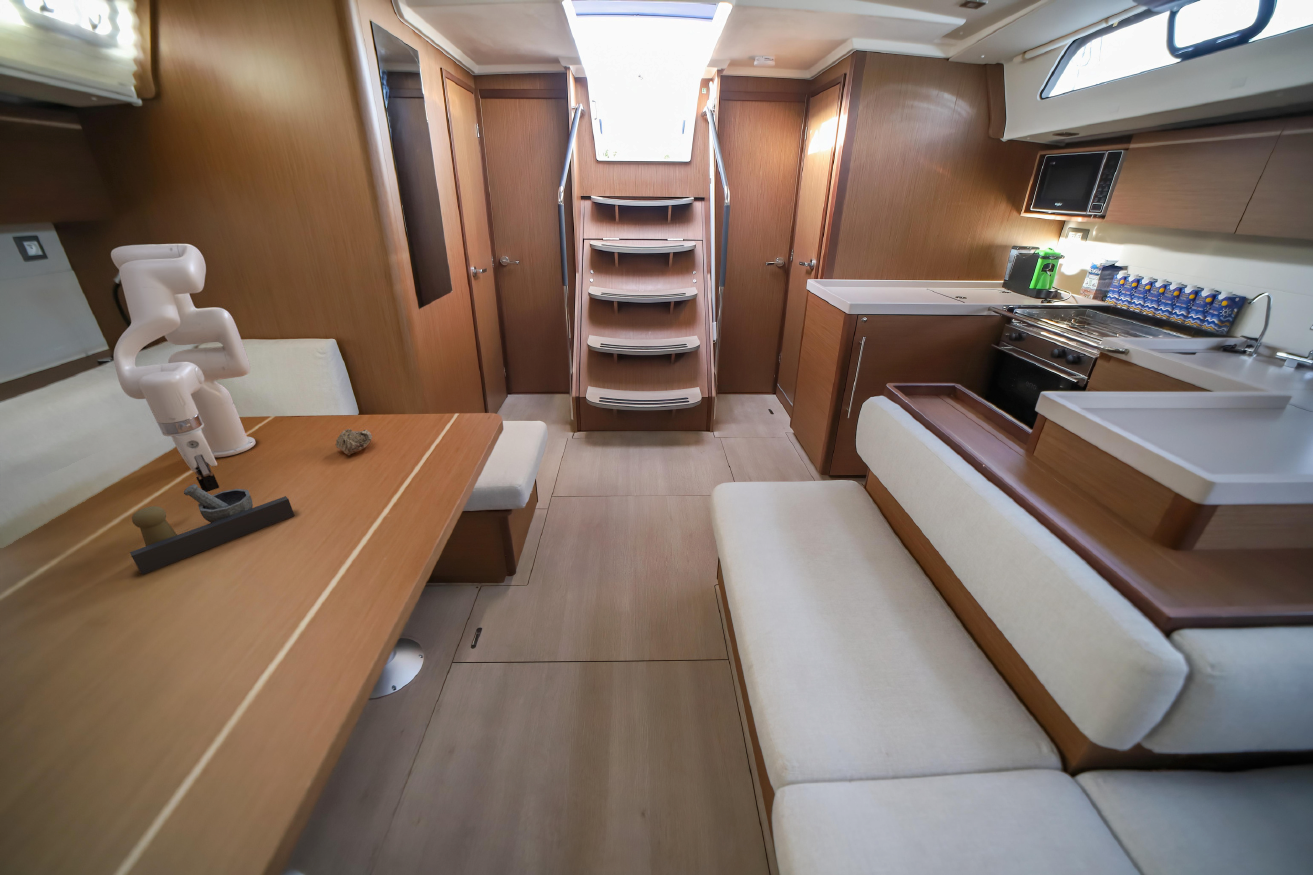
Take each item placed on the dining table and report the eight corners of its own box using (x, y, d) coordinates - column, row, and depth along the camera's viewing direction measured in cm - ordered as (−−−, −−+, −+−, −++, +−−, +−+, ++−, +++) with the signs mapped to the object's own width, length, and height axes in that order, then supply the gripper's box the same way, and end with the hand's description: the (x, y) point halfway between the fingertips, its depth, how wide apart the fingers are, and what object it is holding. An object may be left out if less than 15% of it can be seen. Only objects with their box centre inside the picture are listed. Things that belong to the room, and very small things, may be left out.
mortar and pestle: (263, 508, 126) (246, 467, 121) (255, 529, 119) (237, 486, 113) (208, 519, 122) (188, 477, 117) (196, 541, 114) (174, 497, 109)
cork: (191, 546, 113) (171, 505, 108) (160, 562, 108) (137, 520, 103) (174, 540, 115) (153, 500, 110) (142, 556, 109) (119, 515, 105)
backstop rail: (140, 570, 105) (129, 552, 103) (292, 512, 125) (285, 495, 123) (142, 575, 104) (131, 556, 102) (294, 515, 124) (288, 498, 121)
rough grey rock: (345, 466, 152) (374, 450, 152) (327, 450, 148) (358, 434, 148) (351, 447, 161) (379, 432, 161) (334, 431, 157) (363, 416, 157)
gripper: (209, 428, 116) (238, 493, 125) (193, 410, 125) (221, 473, 133) (167, 439, 111) (199, 506, 120) (153, 419, 120) (184, 484, 128)
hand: (211, 489), depth 126 cm, fingers closed
